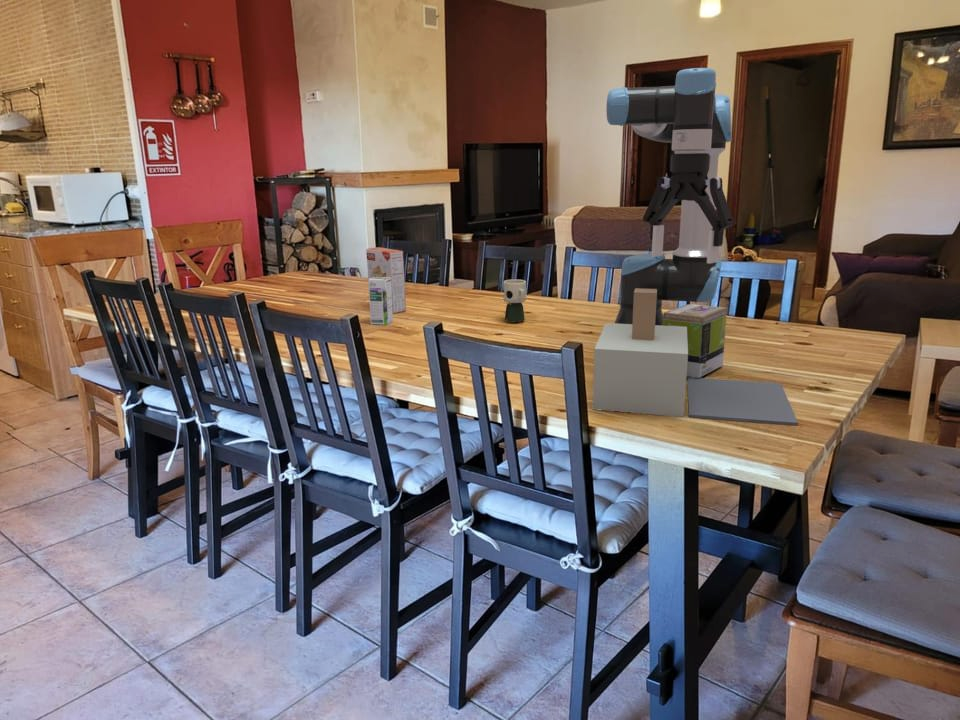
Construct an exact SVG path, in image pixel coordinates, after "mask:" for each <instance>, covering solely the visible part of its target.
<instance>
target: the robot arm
mask: <svg viewBox="0 0 960 720" xmlns="http://www.w3.org/2000/svg"><path fill="white" fill-rule="evenodd" d="M716 73H717V72H716V70H715V69H714V68H710V67H694V68H686V69H685V68H684V69H681V70H679V71H678V72H677V73H676V78H675V83H674V84H675V85H666V86H665V85H663V86H648V87H647V86H644V87H643V86H641V87H625V86H624V87H621V88H612V89H611V90H609V91H608V94H607V98H606V110H605V111H606V121H607V123H608V124H609V125H611V126H621V127H622V126H631V128H632V130H633V131H634V133H635V134H636V135H638V136H640V137H642V138H645V139H648V140H651V141H654V142H658V143H659V142H660V143H666V144H667V143H668V144H669V143H670V144H671V150H672V152H674V153H673V154H672V155H671V156H670V165H669V166H670V172H671V177H669V176H661V177H658V178H657V180H656V181H657V182H656V188H655V190H654V193H653V195H652V197H651V199H650V200H649V204H648V206H647V208H646V210H645V212H644V215H643V216H642V221H643V222H646V223H648V224H649V226H650V231H649V233H650V235H649V238H650V241H652V243H651V252H648V253H641V254H635V255H631V256H630V255H629V256H628V257H625V258H624V260H623V261H622V264H621V266H622V267H621V273H620V276H621V277H620V278H621V279H620V280H621V281H620V301H619V304H620V305H619V309H618V310H619V311H618V313H617V315H616V318H615V321H614V323H615V324H633V302H634V291H635V288H641V289H657V300H656V318H655V325H658V326H663V313H664V312H663V309H662V308H663V307H662V306H663V301H666V302H667V301H668V302H669V301H672V302H691V303H692V302H693V303H708V302H709V303H710V302H712V301H713V300H714V298H715V296H716V292H717V288H718V284H719V279H720V275H721V274H720V273H721V268H722V265H723V262H722V260H721V259H719V253H720V251H719V250H720V247H722V246H723V245H724V244H723V243H724V232H725V230H726V229H728V228H729V227H730V228H732V227H733V226H734V225H735V222H734V218H733V216H732V213H731V210H730V207H729V204H728V201H727V198H726V195H725V193H724V190H723V178H722V177H718V172H719V171H718V169H719V156H720V155H721V154H722V153H723V152H724V151H725V150H726V146H727V145H726V144H727V143H729V142H731V141H733V137H732V134H733V133H732V115H731V100H730V98H729V96H727V95H726V94H718V93H717V94H716V88H717V81H716V77H717V75H716ZM669 188H671V190H670V192H669V193H668V190H669ZM667 193H668V194H667ZM665 197H666V199H665ZM664 199H665V200H664ZM680 201H681V205H680V206H681V209H680V222H679V223H680V224H679V239H678V240H679V241H678V242H679V244H678V248H676V249H675V250H674V251H673V252H672V258H666V256H665V255H666V254H665V253H663V251H664V235H665V224H663V221H664V219H666V217H667V216H668V215H669V213H670V212H671V211H672V209H674V208H675V206H676V204H677V203H678V202H680Z"/></svg>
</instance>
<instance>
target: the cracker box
mask: <svg viewBox="0 0 960 720" xmlns="http://www.w3.org/2000/svg"><path fill="white" fill-rule="evenodd" d="M365 251H366V264H367V265H366V267H367V279H370V278H372V277H391V290H392V311H393V315H395V314H397V313H398V314H399V313H403V312H406V311H407V304H406V303H407V301H406V286H405V266H404V264H405V263H404V251H403V250H399V249H391V248H385V247H382V246H381V247H379V246H378V247H370V248H366V249H365Z"/></svg>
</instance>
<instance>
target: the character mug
mask: <svg viewBox="0 0 960 720" xmlns="http://www.w3.org/2000/svg"><path fill="white" fill-rule="evenodd" d="M502 283H503V286H502V287H503V288H502V289H503V298H502V299H503V302H504V303H507V304H506V305H505V312H504V313H505V314H504V321H506V322H507V323H516V324H518V323H519V322H522V321H525V311H524V310H525V309H524V306H523V303H524V302H525V301H526V300H527V280H524V279H506V280H503V282H502Z"/></svg>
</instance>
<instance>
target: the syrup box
mask: <svg viewBox="0 0 960 720" xmlns="http://www.w3.org/2000/svg"><path fill="white" fill-rule="evenodd" d="M367 279H368V278H367ZM367 281H368V283H367V284H368V287H367V288H368V299H369V300H368V301H369V315H370V317H369V320H370V322H369V323H370V325H371V326H372V325H376V326H379V325H380V326H381V325H382V326H387V325H389V324H391V323H393V322H394V317H393V316H394V314H393V311H392V290H391V277H372V278H370V279H368V280H367Z"/></svg>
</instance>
